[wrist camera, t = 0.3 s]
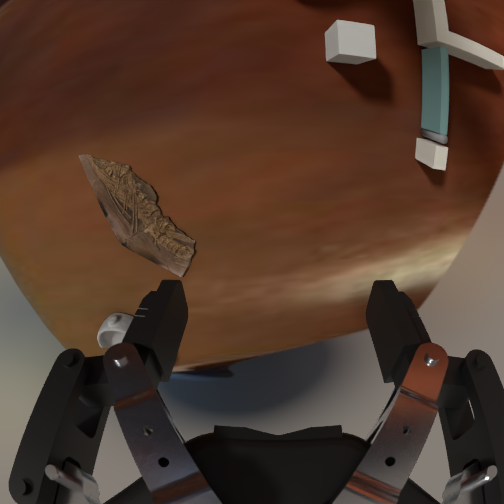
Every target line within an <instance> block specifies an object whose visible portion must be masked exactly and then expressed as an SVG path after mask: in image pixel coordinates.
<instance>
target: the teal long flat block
mask: <svg viewBox="0 0 504 504" xmlns="http://www.w3.org/2000/svg"><path fill="white" fill-rule="evenodd" d="M421 51H422V121H421V128H423V129H422V130H421V135H422V136H424V137H427V138H429V139H432V140H435V141H437V142H440V143H442V144H446V143H447V141H448V138H447V136H446V135H447V128H448V111H449V61H448V49H446V48H444V47H441V46H439V47H433V48H428V49H423V50H421ZM444 134H445V135H444Z"/></svg>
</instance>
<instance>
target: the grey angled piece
mask: <svg viewBox="0 0 504 504" xmlns="http://www.w3.org/2000/svg"><path fill="white" fill-rule="evenodd" d="M413 5H414V12H415V21H416V30H417V43H418V45H420V46H424V47H427V48H433V47H439V46H441V47H444V48H446V49H448V54H449V55H452V56H455V57H457V58H460V59H463V60H465V61H468V62H470V63H473V64H475V65H477V66H480V67H482V68H484V69H498V70H504V56H502V55H500V54H498V53H496V52H494V51H492V50H490V49H488V48H486V47H484V46H482V45H480V44H478V43H476V42H474V41H472V40H469V39H467V38H465V37H462V36H460V35H457V34H455V33H452V32H450V31H449V30H448V22H447V15H446V8H445V2H444V0H413ZM447 154H448V147H445V146H443V145H440V144H438V143H435V142H433V141H430V140H427V139H421V138H417V144H416V154H415V159H417V160H419V161H421V162H422V163H424V164H426V165H428V166H429V167H431V168H433V169H439V170H445V169H446V162H447Z"/></svg>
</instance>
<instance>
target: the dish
mask: <svg viewBox="0 0 504 504" xmlns="http://www.w3.org/2000/svg"><path fill="white" fill-rule="evenodd" d="M132 319H133V316H131V315H128V314H124V313H115V314H112V315H110V316H109V317H108V318H107V319H106V320H105V321H104V322H103V324H102V326H101V328H100V330H99V332H98V336H97V339H98V342H99V345H100V347H101V348H104V347H111V346H113V345H115V344H118V343H121V342H122V340H123V338H124V336H125V334H126V332H127V330H128V328H129V325H130V323H131V321H132Z"/></svg>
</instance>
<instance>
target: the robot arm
mask: <svg viewBox="0 0 504 504" xmlns="http://www.w3.org/2000/svg"><path fill="white" fill-rule="evenodd" d="M138 308H139V309H137V311H136V313H135V317H133V319H132V321H131V323H130V325H129V328H128V330H127V332H126V334H125V336H124V338H123V340H122V342H121V343H118V344H115V345H113V346H111V347H110V348H109V349H108V350H107V351H106V352H105V354H104V355H102V356H94V357H85V356H84V354H83V353H82V352H81V351H80V350H78V349H74V348H73V349H68V350H65V351H64V352H62V353H61V354H60V355H59V356H58V357H57V359H56V361H55V363H54V365H53V367H52V369H51V371H50V373H49V376H48V377H47V379H46V381H45V384H44V386H43V388H42V390H41V393H40V395H39V397H38V399H37V402H36V404H35V406H34V409H33V412H32V414H31V416H30V419H29V421H28V424H27V426H26V429H25V432H24V435H23V438H22V440H21V443H20V446H19V449H18V452H17V455H16V458H15V462H14V465H13V468H12V471H11V475H10V479H9V491H10V494H11V496H12V498H13V499H14V500H15V502H17V503H18V504H101V503H100V500H99V495H100V493H99V489H98V484H97V482H96V480H95V479H94V478H93V477H92V474H93V469H94V466H95V461H96V457H97V453H98V449H99V446H100V442H101V438H102V435H103V431H104V428H105V424H106V421H107V417H108V414H109V411H110V407H111V406H114V411H115V414H116V417H117V419H118V422H119V425H120V427H121V430H122V432H123V435H124V437H125V440H126V442H127V445H128V447H129V449H130V451H131V454H132V456H133V458H134V460H135V463H136V465H137V467H138V469H139V471H140V473H141V475H142V477H140V478H139V479H138V480H136V481H135V482H134V483H132V484H131V485H130V486H128V487H127V488H125V489H124V490H122V491H121V492H120V493H118V494H117V495H115V496H114V497H112V498H111V499H109V500H108V501H106V502H105V503H103V504H440V503H439V502H438V501H437V500H435V499H434V498H433V497H432V496H431V495H429V494H428V493H427V492H426V491H424V490H423V489H422V488H421V487H420V486H418V485H417V484H416V483H415V482H414V481H412V480H411V479H410V478H409V476H410V473H411V472H412V470H413V468H414V466H415V464H416V462H417V460H418V458H419V455H420V453H421V451H422V449H423V446H424V444H425V442H426V439H427V437H428V435H429V433H430V430H431V428H432V425H433V423H434V420H435V417H436V415H437V412H439V417H440V421H441V425H442V430H443V434H444V440H445V445H446V450H447V456H448V462H449V469H450V475H451V478H450V479H449V481H448V482H447V484H446V487H445V490H444V492H443V494H442V497H443V502H442V504H504V389H503V386H502V383H501V381H500V378H499V376H498V373H497V371H496V369H495V366H494V364H493V362H492V360H491V358H490V356H489V355H488V354H486V353H485V352H484V351H481V350H472V351H470V352H469V353H468V354H467V356H466V357H465V358H459V357H452V356H448V355H447V353H446V351H445V350H444V349H443V348H442V347H441V346H439V345H437V344H435V343H432V342H431V340H430V337H429V335H428V333H427V331H426V329H425V327H424V324H423V323H422V320H421V319H420V317H419V314H418V312H417V310H415V306H414V304H413V302H412V300H411V299H410V298H409V297H408V296H407V295H406V294H405V293H404V292H398V290H397V288H396V286H395V284H394V282H393V281H392V280H376V281H374V283H373V286H372V290H371V294H370V297H369V301H368V305H367V309H366V321H367V324H368V328H369V331H370V334H371V337H372V341H373V344H374V347H375V351H376V354H377V357H378V361H379V365H380V369H381V372H382V376H383V380H384V383H389V382H394V385H395V388H394V390H393V391H392V393H391V396H390V397H389V399H388V401H387V403H386V405H385V407H384V409H383V410H382V412H381V414H380V416H379V418H378V419H377V421H376V423H375V425H374V426H373V428H372V429H371V431H370V432H369V434H368V435H367V437H366V438H365V440H364V439H362V438H360V437H357V436H355V435H352V434H348V433H342V427H341V425H337V426H324V427H310V428H307V429H303V430H299V431H296V432H291V433H287V434H283V435H274V434H269V433H265V432H261V431H257V430H253V429H249V428H246V427H230V426H217V425H215V426H214V433H208V434H204V435H200V436H197V437H195V438H193V439H191V440H189V441H186V440H185V438H184V436H183V435H182V433H181V432H180V430H179V428H178V427H177V425H176V423H175V421H174V420H173V418H172V416H171V414H170V412H169V410H168V409H167V407H166V405H165V403H164V401H163V399H162V397H161V395H160V393H159V391H158V389H157V388H158V385H159V382H160V381H162V382H169V380H170V376H171V373H172V369H173V366H174V363H175V359H176V356H177V353H178V349H179V346H180V343H181V340H182V336H183V333H184V330H185V327H186V324H187V320H188V307H187V303H186V298H185V294H184V290H183V285H182V282H181V281H180V280H162V281H161V283H160V285H159V287H158V289H157V291H151V292H150V293H149V294H148V295H146V296H145V297H144V298H143V300H142V302H141V304H140V306H139V307H138ZM469 399H470V402H471V406H472V409H473V413H474V418H473V414H472V411H471V407H470V404H469Z"/></svg>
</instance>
